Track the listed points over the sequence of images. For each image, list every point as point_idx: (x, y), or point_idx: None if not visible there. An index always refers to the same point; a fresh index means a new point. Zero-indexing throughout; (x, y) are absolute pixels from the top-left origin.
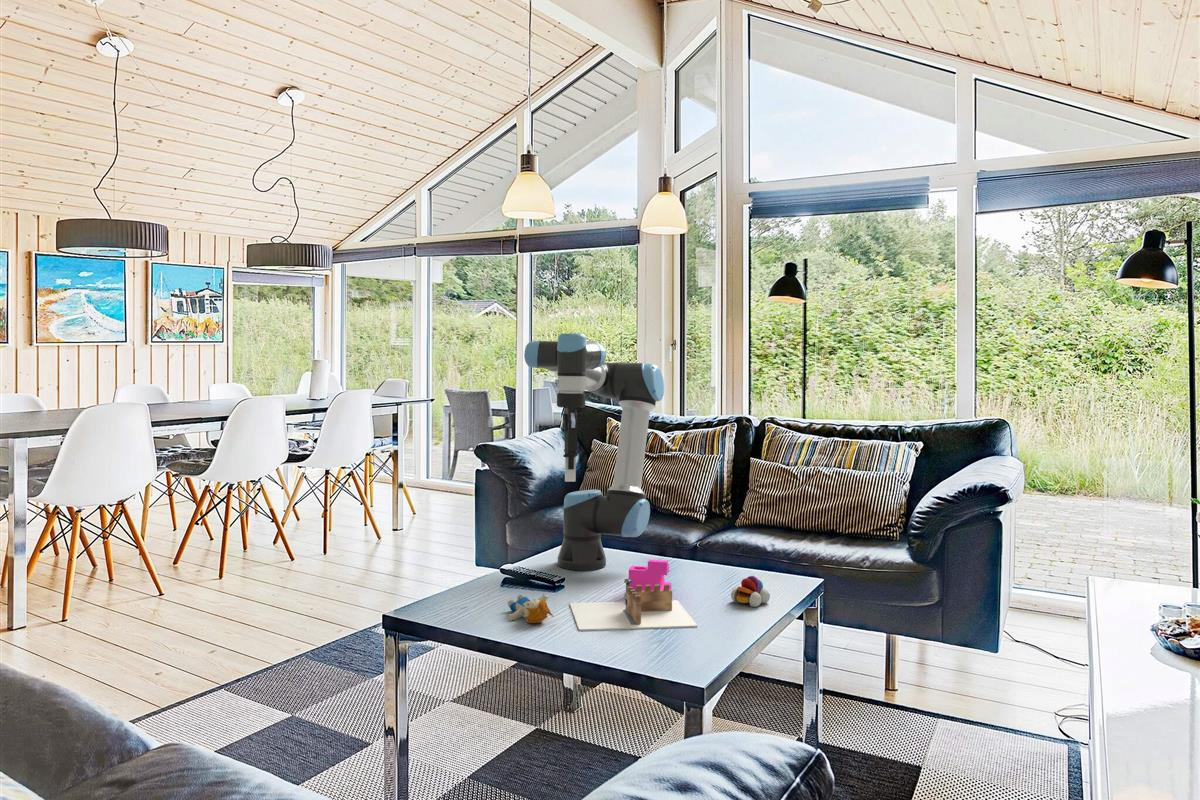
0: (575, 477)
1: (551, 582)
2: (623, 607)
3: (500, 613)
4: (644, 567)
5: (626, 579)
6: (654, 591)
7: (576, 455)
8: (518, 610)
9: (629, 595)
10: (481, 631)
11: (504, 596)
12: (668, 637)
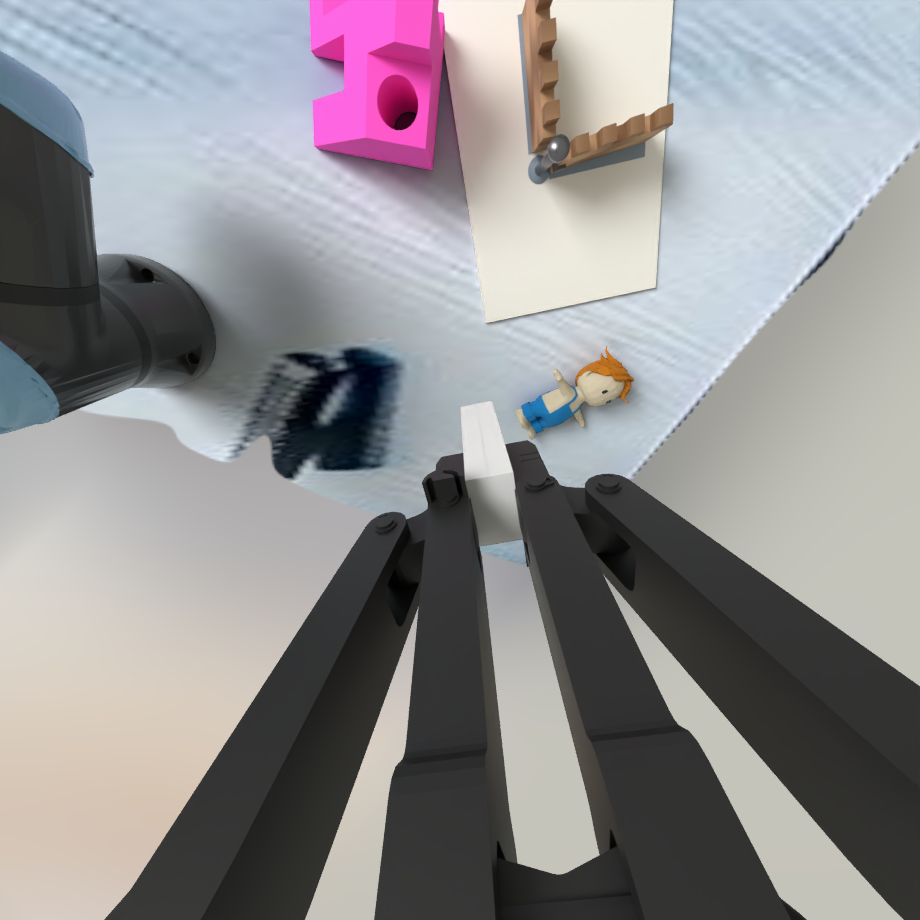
0: (493, 409)
1: (330, 379)
2: (511, 182)
3: (540, 441)
4: (382, 81)
5: (554, 153)
6: (549, 53)
7: (457, 475)
8: (579, 414)
9: (593, 150)
10: (630, 453)
11: (442, 451)
12: (738, 37)
